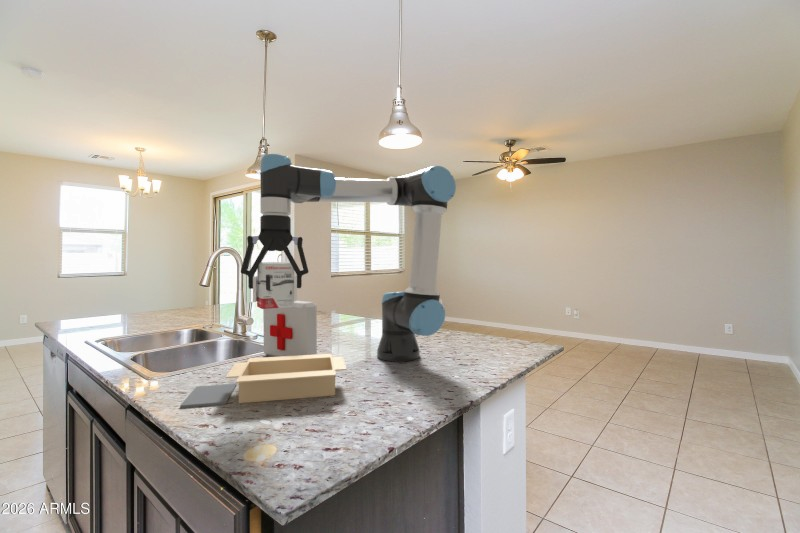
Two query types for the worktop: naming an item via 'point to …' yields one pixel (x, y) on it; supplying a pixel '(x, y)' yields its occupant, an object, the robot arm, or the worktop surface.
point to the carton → (286, 377)
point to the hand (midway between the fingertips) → (275, 300)
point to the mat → (209, 395)
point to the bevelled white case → (291, 330)
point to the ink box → (275, 285)
